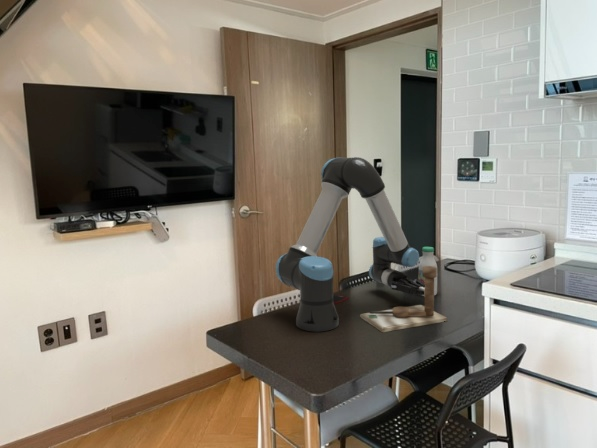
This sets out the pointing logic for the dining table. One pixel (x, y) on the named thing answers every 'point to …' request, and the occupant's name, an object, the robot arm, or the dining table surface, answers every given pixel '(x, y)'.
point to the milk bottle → (427, 261)
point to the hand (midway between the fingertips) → (431, 295)
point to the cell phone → (339, 298)
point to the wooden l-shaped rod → (429, 275)
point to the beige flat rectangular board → (401, 320)
